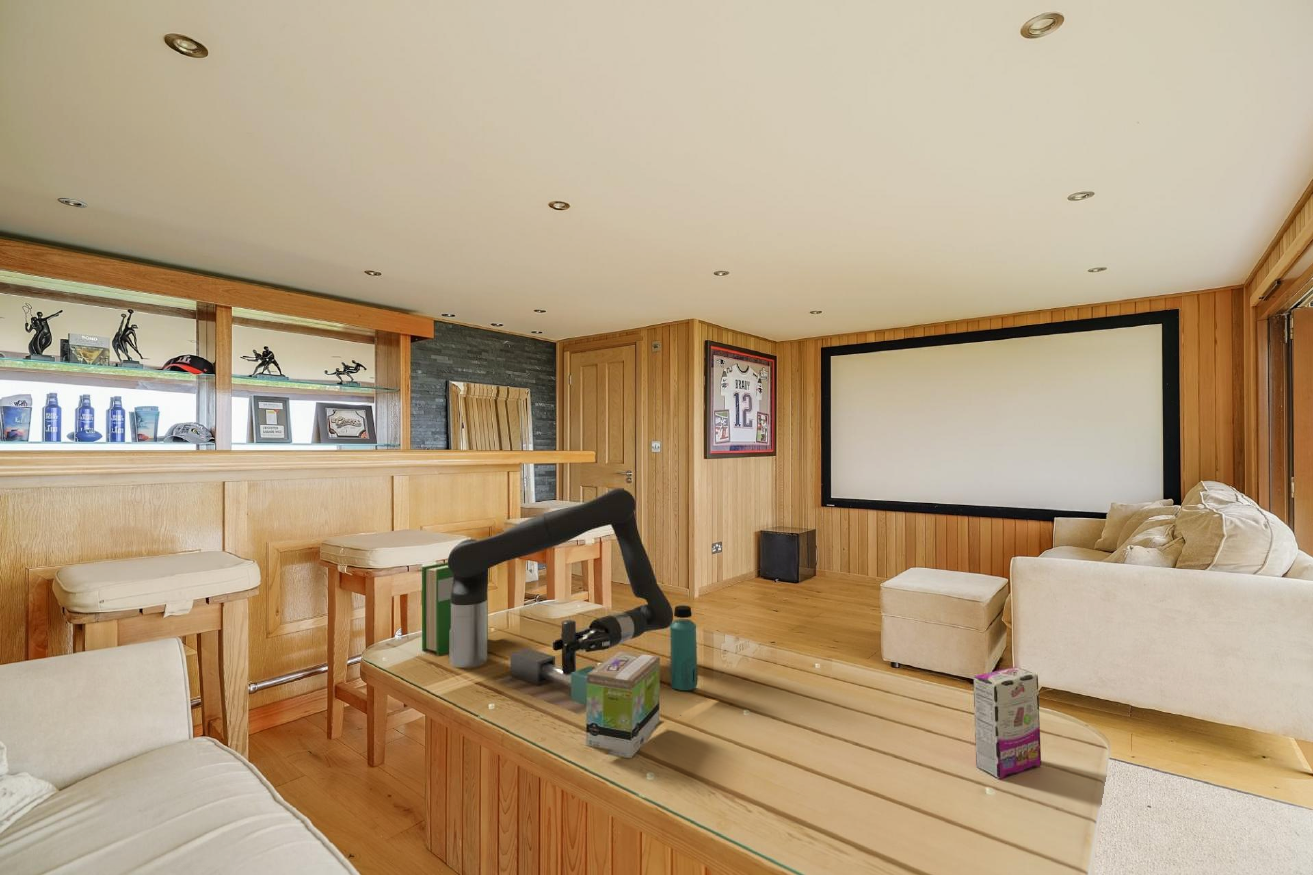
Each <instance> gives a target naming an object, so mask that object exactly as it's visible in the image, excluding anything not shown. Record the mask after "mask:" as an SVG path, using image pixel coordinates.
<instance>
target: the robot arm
mask: <svg viewBox="0 0 1313 875" xmlns="http://www.w3.org/2000/svg"><path fill="white" fill-rule="evenodd" d="M636 507H637V506H636V500H635V498H634V496H633V495H632V493H631V492H630V491H628V490H626V489H624V488H614V489H612V490H609V491H608V492H606V493H604V494H602V495H600V496H598V497H595V498H594V499H591V500H588V501H586V502H584V503H581V504H578V505H574V506H568V507H564V508H563V507H562V508H560V509H556V510H552V511H549V512H546V513H543V514H540V515H536V516H534V517H531V518H528V519H526V520H524V521H521V522H520V523H518V524H516V525H514V526H511V527H510V528H508V529H506V530H504V531H503V532H501V533H498V534H495V535H493V536H490V537H486V538H482V539H479V540H478V539H474V538H469V539H468V538H467V539H465V540H462V541H460V543H458V544H457V545H455V546H454V547H453V548H452V549H451V551H450V552H449V554H448V558H447V562H448V567H449V569H450V571H451V572H452V573H453V586H452V590H451V629H450V631H449V652H448V653H449V656H448V657H449V662H450V666H452V667H454V668H456V669H457V668H459V669H468V668H475V667H480V666H481V665H482V666H483V665H484V664H486V663H487V661H488V639H487V589H488V588H489V569H491V568H493V567H495V566H497V565H500V564H503V563H506V562H507V561H511V560H515V559H518V558H523V557H526V556H529V555H534V554H536V553H539V552H543V551H545V550H549V549H551V548H554V547H556V546H559V545H562V544H563V543H566V542H569V541H571V540H572V539H573V540H574V539H575V538H577V537H579V536H581V535H583V534H585V533H586V532H589V531H592V530H595V529H598V528H599V529H600V528H601V527H606V526H611V528H612V529H613V532H614V535H615V537H616V540H617V542H618V545H619V549H620V553H621V556H622V560H623V561H622V562H623V565H624V568H625V572H626V574H627V578H628V582H629V584H630V587H631V591H632V593H633V595H634V596H635V597H636V598H639V599H643V600H645V601H646V602H647V604H641V605H639V606H636V607H634V608H633V609H629V610H626V611H622V612H616V613H615V612H614V613H612V614H608V615H606V616H602V617H598V618H596V619H593V620H592V622H591V623H590V625H589V626H588V627H584V628H582V629H579V630H576V640H575V641H572V642H569V643H566V644H565V645H564V653H565V654H569V653H572V652H575V651H576V652H583V651H584V652H585V653H590V652H597V651H605V650H608V649H611V648H613V647H616V646H618V645H622V644H624V643H626V642H627V641H630V640H632V639H635V638H638V637H640V636H641V635H643V634H644V633H647V632H652V631H658V630H664V629H665V630H666V629H668V628H670V625H671V624H672V623H673V622H674V612H673V608H672V606H671V603H670V602H669V599H667V597H666V594H664V592H663V590H662V588H661V587H660V586H659V585H658V582H657V579H656V576H655V573H654V569H653V567H652V564H651V561H650V558H649V555H648V554H647V551H646V549H645V546H644V544H643V542H642V538H641V536H640V533H639V529H638V526H637V525H638V524H637V520H636V519H637V518H636V514H635V513H636V512H635V511H636ZM560 637H561V638H559V639H555V640H553V642H552V650H553V651H556V652H557V651H560V650H562V633H561V634H560Z"/></svg>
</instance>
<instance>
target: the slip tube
mask: <svg viewBox="0 0 1313 875" xmlns="http://www.w3.org/2000/svg"><path fill="white" fill-rule="evenodd" d="M576 624H577V622H576V621H575V620H572V619H571V620H570V619H568V620H567V619H566V620H563V621H562V622H561V634H562V649H561V666H557V665H556V664H555V665H552V664H549V663H546V662H545V663H542V664H540V677H543V678H546V679H548V680H551V681H554V682H557V683H560V684H562V685H565V686H568V687H571V673H572V672H575V671H577V651H575V652H572V653H569V654H565V653H564V645H565V644H566V643H569V642H572V641H575V640H576V631H577V629H576V628H577V626H576Z"/></svg>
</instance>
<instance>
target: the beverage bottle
mask: <svg viewBox="0 0 1313 875" xmlns="http://www.w3.org/2000/svg"><path fill="white" fill-rule="evenodd" d="M673 617H675V618H679V619H675V620H673V621H672V624H671V625H670V626H669V628H670V630H669V632H670V634H669V635H670V638H669V639H670V641H669V642H670V651H669V655H670V656H669V657H670V664H669V666H670V668H669V669H670V670H669V671H670V672H669V673H670V681H669V682H670V685H671V687H672V688H673V689H674V690H677V691H678V690H679V691H691V690H694V689H696V688H697V687H698V686H697V685H698V684H699V683H698V679H699V678H698V675H699V673H698V668H699V667H698V654H697V653H698V652H697V650H698V649H697V647H698V646H697V644H698V642H697V624H696V623H695V622H694V621H693V620H691V619H688V618H690V617H692V607H691V606H689V605H676V606H675V607H674V612H673Z"/></svg>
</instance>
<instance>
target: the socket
mask: <svg viewBox="0 0 1313 875" xmlns="http://www.w3.org/2000/svg"><path fill="white" fill-rule="evenodd" d="M596 667H597V666H596ZM596 667H595V666H593V665H588V666H586V667H584V668H583V667H582V668H580V669H578V670H576V671H575V672H572V673H571V700H573V701H576V702H578V703H581V704H584V705H586V706H587V674H588V673H589V672H590V671H592V670H593V669H595V668H596Z"/></svg>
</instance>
